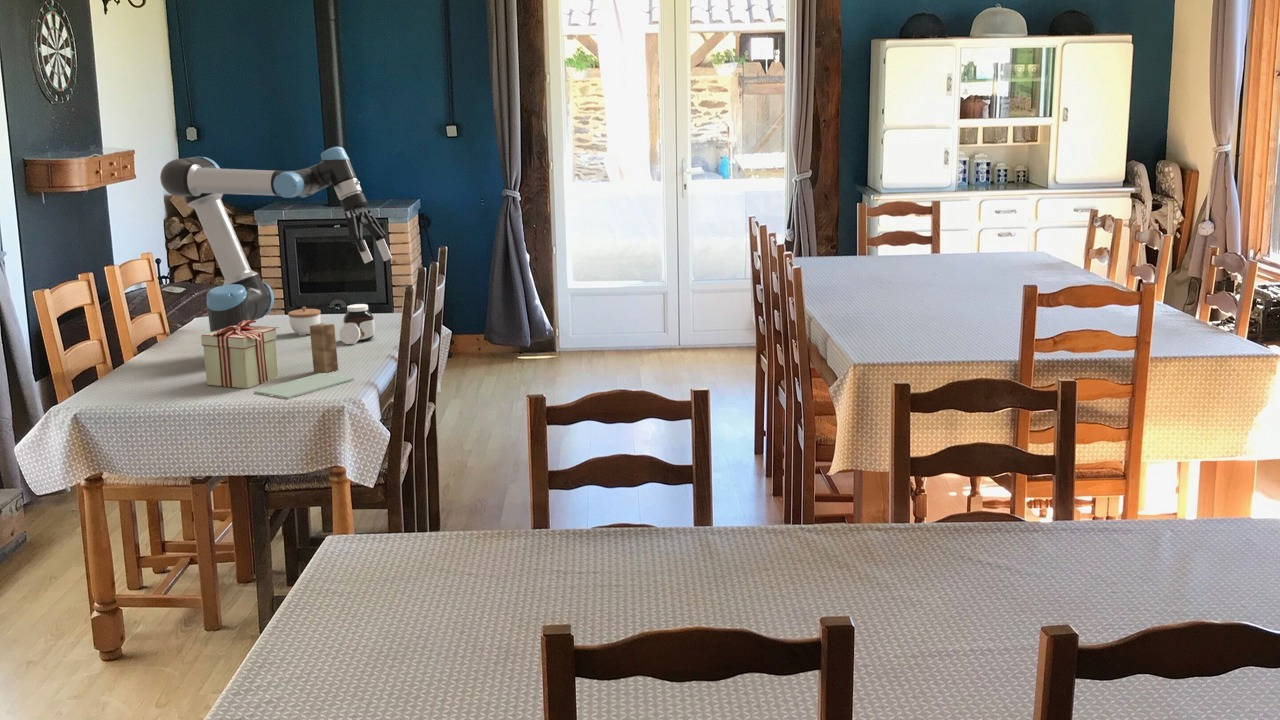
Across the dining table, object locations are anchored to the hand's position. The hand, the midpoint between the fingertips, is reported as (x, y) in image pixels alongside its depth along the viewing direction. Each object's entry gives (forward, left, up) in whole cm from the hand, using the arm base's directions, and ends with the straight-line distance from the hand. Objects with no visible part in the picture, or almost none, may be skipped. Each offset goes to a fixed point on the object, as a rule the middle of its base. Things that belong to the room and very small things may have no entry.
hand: (378, 260), depth 375 cm
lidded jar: (-23, +49, -30) cm, 62 cm away
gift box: (-41, -17, -30) cm, 54 cm away
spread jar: (-7, +28, -30) cm, 42 cm away
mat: (-25, -30, -30) cm, 50 cm away
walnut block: (-19, -13, -30) cm, 38 cm away
